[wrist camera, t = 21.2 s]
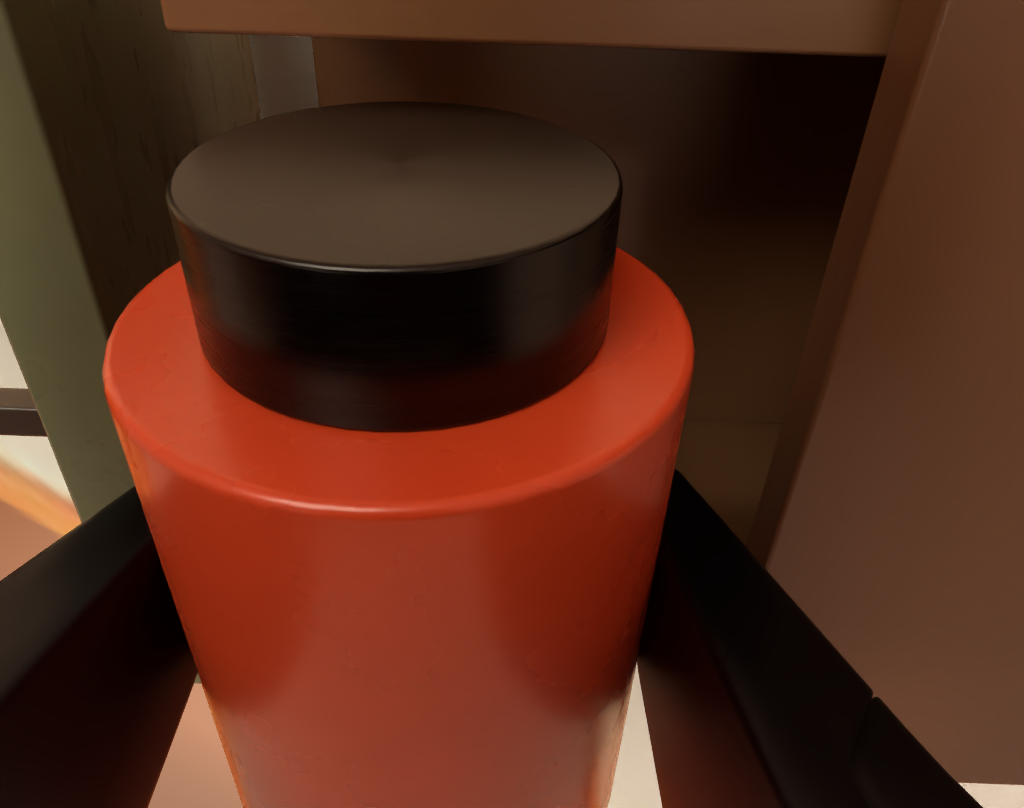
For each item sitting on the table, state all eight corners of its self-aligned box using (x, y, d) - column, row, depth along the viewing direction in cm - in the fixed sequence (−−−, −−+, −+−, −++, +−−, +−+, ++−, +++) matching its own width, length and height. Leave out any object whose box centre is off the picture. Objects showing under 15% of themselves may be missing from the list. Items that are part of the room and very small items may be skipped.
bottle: (621, 627, 12) (601, 990, 8) (321, 585, 12) (176, 909, 9) (710, 98, 7) (753, 380, 4) (231, 63, 8) (-143, 283, 4)
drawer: (45, 419, 19) (-157, 672, 13) (-196, -194, 12) (-814, -198, 6) (798, 446, 19) (907, 710, 13) (981, -151, 12) (1360, -118, 6)
